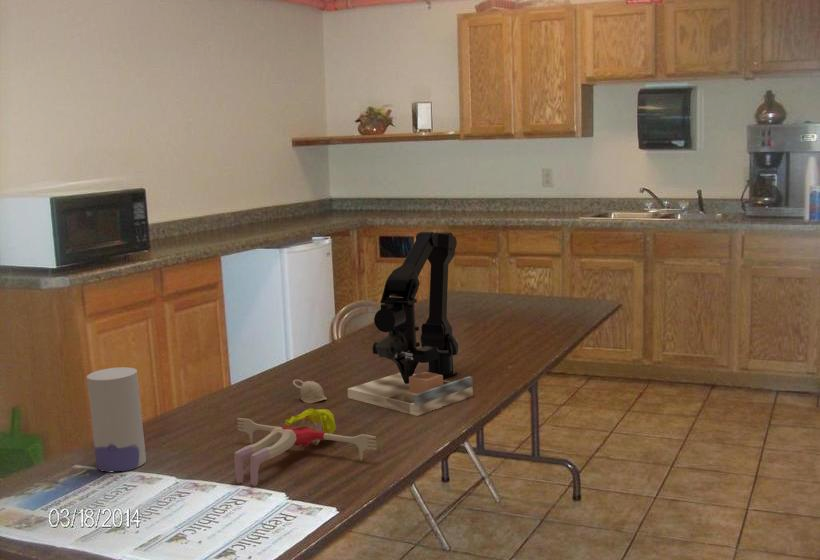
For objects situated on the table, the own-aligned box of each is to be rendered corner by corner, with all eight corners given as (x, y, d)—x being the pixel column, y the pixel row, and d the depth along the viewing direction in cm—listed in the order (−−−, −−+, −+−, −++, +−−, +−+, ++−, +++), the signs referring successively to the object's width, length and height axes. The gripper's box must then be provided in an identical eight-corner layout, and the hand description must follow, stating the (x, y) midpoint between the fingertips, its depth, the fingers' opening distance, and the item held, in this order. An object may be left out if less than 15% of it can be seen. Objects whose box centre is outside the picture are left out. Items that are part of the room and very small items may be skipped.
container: (151, 454, 193) (142, 365, 190) (139, 471, 183) (129, 377, 180) (105, 457, 193) (95, 367, 190) (90, 474, 183) (79, 380, 180)
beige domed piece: (319, 404, 224) (318, 383, 224) (292, 401, 228) (290, 381, 227) (328, 399, 228) (326, 379, 227) (301, 396, 232) (299, 377, 231)
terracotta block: (426, 386, 226) (425, 371, 225) (443, 390, 222) (442, 375, 221) (409, 392, 222) (408, 376, 221) (426, 396, 218) (426, 380, 217)
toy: (377, 463, 182) (375, 421, 180) (240, 490, 171) (236, 446, 170) (334, 424, 208) (331, 388, 206) (212, 445, 197) (209, 407, 195)
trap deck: (403, 380, 242) (402, 362, 241) (472, 396, 225) (472, 376, 224) (348, 398, 228) (346, 379, 228) (417, 415, 211) (416, 395, 210)
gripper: (355, 325, 225) (359, 385, 227) (408, 334, 212) (411, 397, 215) (386, 317, 233) (389, 375, 235) (439, 325, 220) (442, 386, 222)
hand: (407, 383), depth 227 cm, fingers closed
